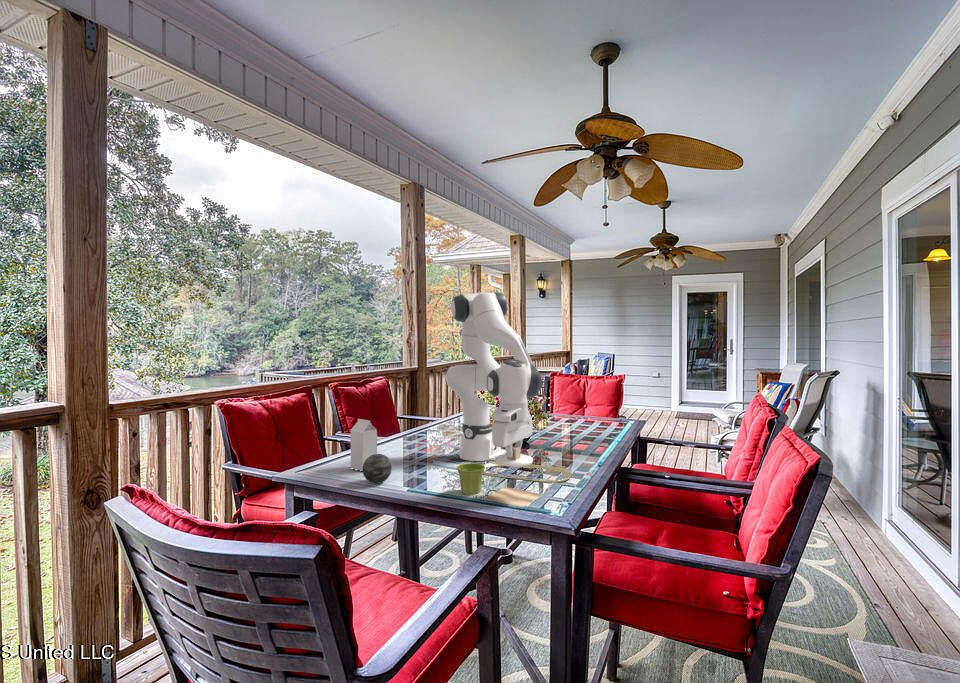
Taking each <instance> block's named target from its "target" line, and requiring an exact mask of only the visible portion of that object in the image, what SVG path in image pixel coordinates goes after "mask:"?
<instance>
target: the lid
mask: <svg viewBox="0 0 960 683" xmlns="http://www.w3.org/2000/svg"><path fill="white" fill-rule="evenodd" d="M512 451H514V456H513V457H511V458H509V457H507V453H505V454H502V455H498V456H496V457H495V460H494V462H495V463H497V464H499V465H503V466H502V467H504V466H505V467H510V468H511V467H514V468H521V467H520V466H527V465H533V463H534V458H533V457H532V456H530V455H528V454H527V455H526V454H523V453H522V454H521V452H520V447H515V445H513V446H512Z"/></svg>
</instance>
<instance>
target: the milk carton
mask: <svg viewBox="0 0 960 683" xmlns="http://www.w3.org/2000/svg"><path fill="white" fill-rule="evenodd" d="M373 454H378V430H377V428H376V427H375V426H374V425H372V423H371V420H368V419H363V418H362V419H361V418H357V421H356V423H355V424H354V425H353V426H352V428H351V429H350V469H351V468H353V469H357V470H361V471H363V464H364V462H365V460H366V459H367V458H368V457H369V456H371V455H373ZM353 469H352V470H353ZM357 470H356V471H357ZM361 471H360V472H361Z"/></svg>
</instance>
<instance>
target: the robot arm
mask: <svg viewBox="0 0 960 683" xmlns="http://www.w3.org/2000/svg"><path fill="white" fill-rule="evenodd" d="M450 312H451V314H452V317H453V319H454V320H455V321H456V322H460V323H462V324H461V340H462V341H461V342H462V343H461V345H462V346H461V347H462V348H461V349H462V351H463V353H464V354H465V356H467V357H469V358H470V359H472V360H474V361H475V362H476V363H477V364H456V365H452V366H450V367H448V370H447V371H446V373H445V382H446V385H447V386H448V388H449V389H451V390H452V391H453V392H454V393H455V394H456V395H457V397H458V398H459V400H460V403H461V405H462V413H463V414H462V415H463V416H462V417H463V423H462V424H461V425H462V426H461V431H462V434H461V435H460V441H459V442H460V443H459V451H458V452H457V455H458V456H459V458H460V459H461V460H464V461H469V462H471V461H473V462H481V461H482V462H483V461H484V462H485V461H495V457H496V456H498V455H502V454H507V457H509V458H511V457H513V456H514V451H512V446H515V447H520V453H521V450H522V449H521V448H522V445H523V441H524V439H526V438H528V437H530V436H532V435H533V432H534V431H533V419H532V415H531V414H530V411H529V408H528V407H529V402H528V401H529V400H528V398H535V397H536V396H537V395H538V394H539V392H540V391H541V390H542V388H543V379H542V375H541V372H540V371H539V370H538V368H537V367H536V366H535V364H534V363H533V362H534V361H533V360H532V357H531V356H530V354H529V352H528V350H527V348H526V346H525V343H524V341H523V339H522V337H521V336H520V335H519V333H518V331H517V330H515V329H513V328H512V327H511V326H510V325H509V323H508V322H507V321H506V319H505V316H506V315H507V312H508V300H507V297H506V295H505V294H504V293H502V292H497V291H496V292H495V291H494V292H488V291H487V292H486V291H485V292H476V293H475V292H473V293H467V294H459V295H456V296H454V297H453V298H452V300H451V304H450ZM490 345H491V346H495V347H499V348H502V349H505V351H506V350H507V351H508V352H509V353H510V354H511V355H512V357H513V359H505V360H503V361H501V364H499V363H498V361H496V359H495V358H494V357H493V355H492V352H491V347H490ZM476 391H481V392H486V391H487V392H488V393H489V394H490V395H491V396H492V397H494V398H497V399H498V398H499V406H498V407H497V408H496V410H495V411H493V412H492V414H491V421H492V422H490V412H491V411H490V404H489V403H488V402H487V401H485V400H484V399H482V398H480V397H478V396H477V395H476V394H475V392H476ZM513 444H514V445H513Z"/></svg>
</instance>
